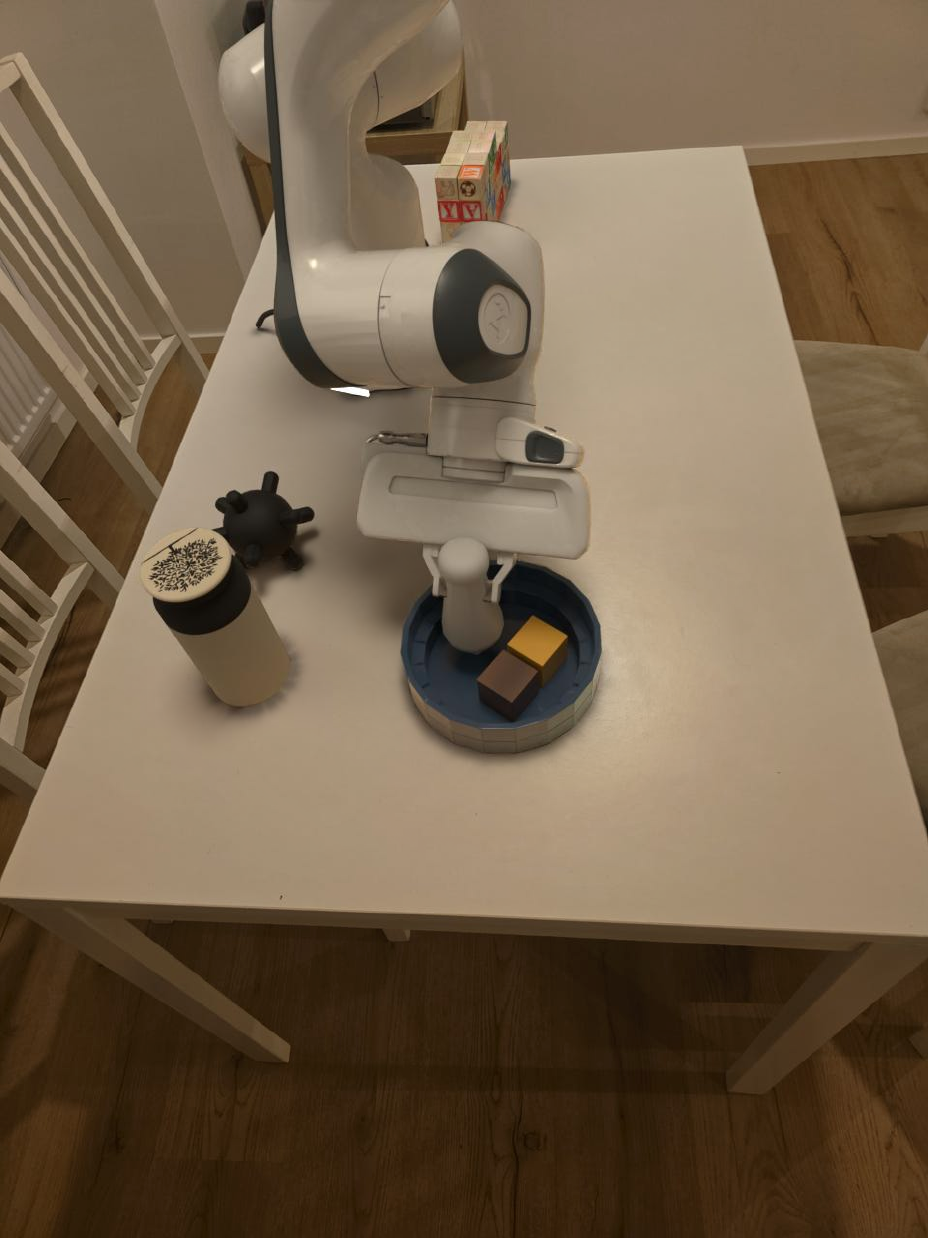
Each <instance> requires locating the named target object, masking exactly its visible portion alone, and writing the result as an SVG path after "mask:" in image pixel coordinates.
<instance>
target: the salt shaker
mask: <svg viewBox="0 0 928 1238" xmlns="http://www.w3.org/2000/svg"><path fill="white" fill-rule="evenodd" d="M489 560H490V559H489V552H488V550H487V549H486V547H485V546H484V545H483V544H482V543H481V542H480V541H478V540H476V539H474V538H471V537H458V538H455V539H452V540H449V541H448V542H447V543H446V544H445V545H443V546H442V547H441V550H440V552H439V554H438V566H439V571H440V574H441V575H442V576H443V578H444V579H445V580H446V581H445V582H446V586H447V597H444V602H443V613H442V627H443V633H444V635H445V637H446V638H447V640H448V641H449V642H450V643H451V645H452V646H454V647H455V648H456V649H458V650H459V651H463V652H468V653H472V654H476V655H478V654H480V653H482V652H483V651H485V650H487V649H488V648H490V647H492V646H493V645H494V644H495V643H496V642H497V641H498V639H499V638H500V636H501V633H502V630H503V627H504V620H503V614H502V610H501V608H500V606H499V603H497V604H495V603H487V602H483V600H482V599H483V597H484V595H485V594H486V589H485V583H486V582H487V581H488V578H487V575H486V573H487V570H488V568H489Z"/></svg>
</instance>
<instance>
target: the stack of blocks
mask: <svg viewBox="0 0 928 1238" xmlns="http://www.w3.org/2000/svg"><path fill="white" fill-rule="evenodd" d="M508 125H509V124H508V121H507V120H467V121H466V124H465V127H464V129H463V130H456V129H455V130H453V131H452V134H451V136H450V138H449V142H448V145H447V147H446V150H445V153H444V154H443V156H442V159H441V161H440V164H439V166H438V168H437V171H436V172H435V176H434V185H435V195H436V205H437V214H438V221H439V226H440V234H441V236H440V237H441V243H443V242H446V241H449V240H450V239H451V236H452V233H453V232H454V230H455V229H456V228H457V227H459V226H460V225H462V224H464V223H467V222H471V221H484V220H487V221H498V222H500V221H499V220H500V217H501V213H502V210H503V206H504V204H505V203H506V199H507V196H508V194H509V193H508V192H509V189H510V185H511V182H512V181H511V179H512V178H511V158H510V157H511V154H510V153H511V152H510V142H509V126H508Z"/></svg>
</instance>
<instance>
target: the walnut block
mask: <svg viewBox="0 0 928 1238" xmlns="http://www.w3.org/2000/svg"><path fill="white" fill-rule="evenodd" d="M477 686H478V693H479V700H480V701H481V702H483V703H484V704H486V705H487V706H489V707H490V708H492V709H493V710H495V711H496V712H498V713H499V714H501V715H502V716H504V717H505V718H507V719H508V720H510V721H511V722H515V721H516V719H517V718H518V717H519V716H520V714H521V713H522V712H523V711H524V710H525V708H526V707H527V706H528V705H529V704H530V702H531V701H532V700H533V699H534V697H535V696H536V695H537V694H538V693H539V680H538V671H537V670H536V669H534V668H533V667H531V666H529V665H528V664H526V663H525V662H523V661H521V660H520V659H518V658H516V657H515V656H513V655H512V654H510V653H508V652H507V651H505V650H504V649H503V650H502V651H501V652H500V653H499V655H498V656H497V657H496V658H495V659H494V660H493V661H492V663H491V664H490V665H489V666H488V667H487V668H486V669H485V671H484V672H483V673H482V674H481V675H480V676H479V677H478V679H477Z"/></svg>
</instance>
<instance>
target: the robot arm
mask: <svg viewBox="0 0 928 1238" xmlns="http://www.w3.org/2000/svg"><path fill="white" fill-rule="evenodd" d="M264 15H265V16H264V22H263V23H262V24H260V25H258V26H257V27H256V28H255V29H253V30H251V31H250V32H249V33H247V34H246V35H244V36H243V37H242V38H240V39H239V40H238V41H236V42H235V43H234V44H233V45H232V46H230V47H229V48H228V49H227V50H225V51H224V52H223V54H222V55H221V59H220V62H219V67H218V73H217V90H218V99H219V103H220V107H221V110H222V113H223V116H224V118H225V120H226V123H227V125H228V127H229V128H230V130H231V132H232V133H233V135H234V136H235V137H236V139H237V140H238V141H239V143H241V145H242V146H243V147H244V148H245V149H246V150H248V152H250V153H251V154H252V155H254V156H255V157H257V158H258V159H260V160H262V161H264V162H266V163H268V164H270V172H271V174H270V175H271V186H272V187H271V189H272V199H273V200H272V201H273V202H272V203H273V215H274V226H275V227H274V228H275V229H274V230H275V241H276V267H275V268H276V269H275V270H276V271H275V281H274V294H273V308H270V309H268V310H266V311H264V312H262V313H261V314H260V316H259V317H258V319H257V321H256V323H255V327H256V328H257V329H259V328H261V327H262V325H263V324H264V322H265V320H266V319H268V318H269V317H272V316H273V323H274V329H275V333H276V338H277V340H278V343H279V345H280V347H281V349H282V351H283V353H284V355H285V357H286V358H287V360H288V361H289V362H290V364H291V365H292V366H293V368H294V369H295V371H296V372H298V374H299V375H300V376H302V377H303V379H305V381H307V382H308V383H310V384H311V385H313V386H314V387H317V388H320V389H323V390H333V391H338V392H343V393H347V394H348V395H350V396H351V395H352V396H356V395H358V396H364V397H370V392H373V391H378V390H398V389H404V388H419V387H423V388H425V387H426V388H431V393H430V406H429V415H428V416H429V418H428V430H427V431H428V433H424V432H423V433H422V432H395V431H393V430H380V431H378V434H375V435H372V436H370V437H368V439H366V441H365V442H364V444H363V445H362V448H361V454H360V455H361V458H360V470H361V474H362V476H363V479H362V483H361V487H360V492H359V498H358V503H357V511H356V526H357V528H358V530H359V531H360V533H361V534H362V535H363V536H364V537H365V538H374V539H383V540H390V541H391V540H392V541H401V542H410V543H419V544H423V547H422V558H423V560H424V562H425V565H426V566H427V568H428V570H429V573H430V574H431V576H432V577H433V580H432V584H433V596H439V597H447V586H446V582H445V581H446V580H445V579H444V578H443V576H442V575H441V574H440V571H439V566H438V554H439V552H440V550H441V547H442V546H443V545H445V544H446V543H447V542H448V541H449V540H452V539H455V538H458V537H471V538H474V539H476V540H478V541H480V542H481V543H482V544H483V545H484V546H485V547H486V549H487V551H492V552H497V556H496V560H497V564H499V565H502V564H503V567H502V568H501V570H500V571H499V572H498V574H497V575H496V577H495V578H494V580H488V581H487V582H486V583H485V589H486V594H485V595H484V597H483V599H482V600H483V602H487V603H495V604H497V603H498V602H499V601H500V595H501V584H502V582H503V581H504V579H505V578H506V577H507V575H508V574H509V572H510V571H511V570H512V568H513V567H514V565H515V564H516V560H518V554H519V555H527V556H528V555H529V556H536V557H546V558H555V559H563V560H571V561H572V560H573V561H576V560H580V559H581V558H582V557H584V556H585V554H587V552H588V551H589V550H590V547H591V546H590V545H591V536H592V535H591V534H592V500H591V499H592V497H591V490H590V486H589V482H588V480H587V478H586V477H585V476H584V474H582V473H581V472H580V471H579V470H577V468H580V467H581V466H582V465H583V463H584V460H585V454H586V450H585V445H583V444H582V443H581V442H580V441H578V440H577V439H574V438H572V437H569V436H567V435H564V434H561V433H558V431H557V430H556V429H554V428H553V427H549V426H541V425H539V424H537V421H536V411H537V396H536V391H535V373H536V368H537V365H538V362H539V360H540V357H541V354H542V349H543V340H544V326H545V308H546V307H545V305H546V303H545V301H546V287H545V286H546V283H545V282H546V281H545V266H544V256H543V251H542V247H541V245H540V243H539V241H538V240H537V239H536V238H535V237H534V236H532V234H531V233H529V232H527V231H525V230H524V229H523V228H520V227H519V226H514V225H512V224H508V223H505V222H502V221H487V220H484V221H471V222H467V223H464V224H462V225H460V226H459V227H457V228H456V229H455V230H454V232H453V233H452V236H451V239H450V240H449V241H446V242H443V243H442V242H441V243H436V244H431V245H430V244H429V242H428V240H427V239H426V236H425V228H424V222H423V221H424V220H423V214H422V208H421V207H422V205H421V200H420V199H421V198H420V193H419V191H420V190H419V187H418V185H417V182H416V180H415V179H414V177H413V175H412V174H411V172H410V170H409V169H408V168H406V166H405V165H403V164H402V163H401V162H399V161H397V160H395V159H394V158H391V157H389V156H385V155H382V154H379V153H373V152H368V150H367V145H366V135H367V132H368V131H370V130H371V129H373V128H375V127H376V126H379V125H381V124H383V123H385V122H387V121H389V120H391V119H394V118H397V117H398V116H400V115H403V114H405V113H407V112H409V111H411V110H413V109H416V108H418V107H420V106H422V105H424V103H426V102H427V101H428V100H429V99H431V98H432V97H433V96H435V95H436V94H437V93H439V92H440V91H441V90H442V89H444V88H445V86H447V85H448V84H449V83H451V82H452V81H453V80H454V79H455V78H456V76H457V74H458V72H459V70H460V66H461V63H462V59H463V51H464V34H463V27H462V22H461V18H460V14H459V12H458V8H457V7H456V5H455V2H454V0H268V1H267V5H266V9H265V14H264ZM376 440H377V441H378V442H374V441H376Z"/></svg>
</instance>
